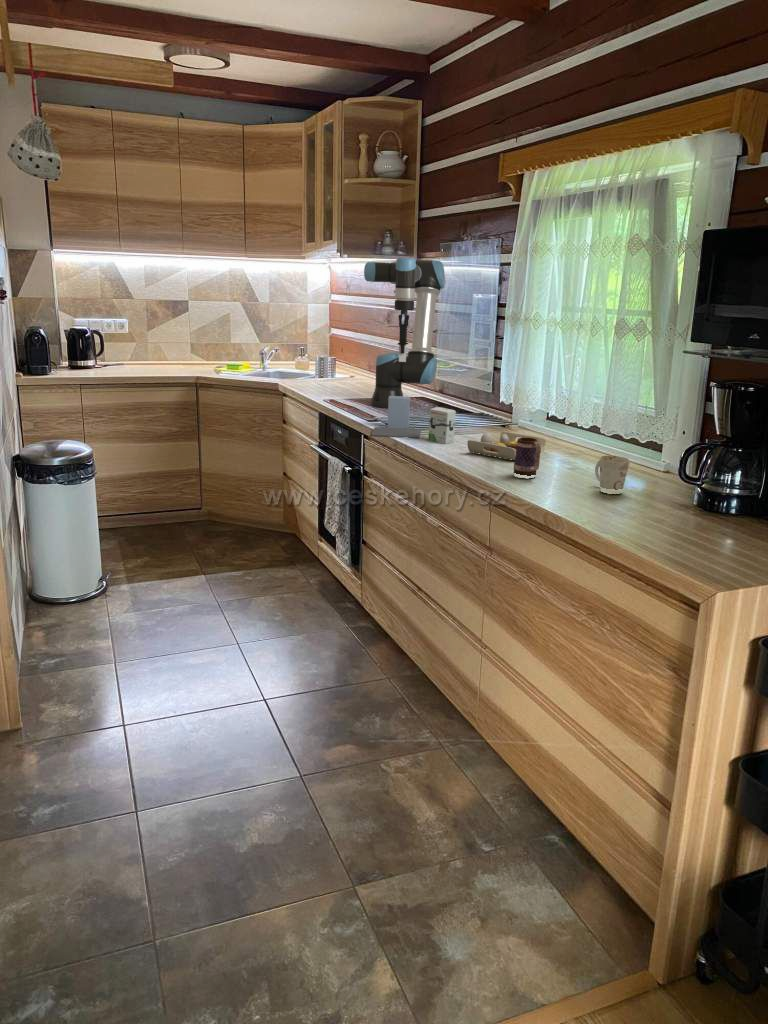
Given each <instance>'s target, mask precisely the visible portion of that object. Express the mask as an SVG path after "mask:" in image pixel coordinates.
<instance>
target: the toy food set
mask: <svg viewBox="0 0 768 1024" xmlns="http://www.w3.org/2000/svg"><path fill="white" fill-rule="evenodd" d="M516 438H534V439H537V442H539V443H540V444H541V453H543V452H544V450H545V447H546V445H547V441H548V440H547V438H545V437H540V436H535V435H530V434H525V433H517V432H512V431H505V430H503V431H500V437H499V439H498V441H495V442H493V436H492V435H491V433H489V432H484V433H483V435H481V438H480V440H479V441H478V440H471V439H469V440H467V443H466V444H467V450H468V451H469V453H471V452H474V453H473V454H475V453H480V454H485V455H484V456H486V455H490V456H489V457H491V456H496V457H501V458H506V459H512V460H515V456H516V448H517V441H518V439H517V440H516ZM480 454H479V455H480ZM496 457H495V458H496ZM501 458H500V459H501ZM506 459H505V460H506Z"/></svg>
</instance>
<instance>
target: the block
mask: <svg viewBox="0 0 768 1024" xmlns="http://www.w3.org/2000/svg"><path fill="white" fill-rule="evenodd" d="M410 407H411V396H405V395H403V396H389V400H388V408H387V428H401V429H403V428H408V427H409V428H410V411H411V409H410ZM409 428H408V429H409Z"/></svg>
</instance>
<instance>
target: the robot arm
mask: <svg viewBox="0 0 768 1024" xmlns="http://www.w3.org/2000/svg"><path fill="white" fill-rule="evenodd" d="M363 274H364V279H365V281H366V282H370V283H390V284H392V285H395V287H394V288H395V289H394V290H393V293H395V294H394V299H395V301H394V310H395V311H400V314H398V327H399V341H398V342H397V346H398V347H399V348H398V352H387V353H381V354H379V355H377V356H376V360H375V361H376V363H375V387H374V392H373V394H372V397H371V400H370V405H371V406H372V407H376V408H382V409H383V408H385V409H388V400H389V396H404V394H403V390H402V384H414V385H415V384H416V385H421V386H422V385H430V384H432V383H433V382H434V380H435V377H436V373H437V369H438V359H437V358H436V357H435V353H434V351H432V346H433V345H432V344H433V335H434V325H435V316H436V315H435V314H436V305H437V304H436V303H437V296H439V295H440V294H441V290H442V289H445V284H446V278H445V277H446V276H445V266H444V264H443V262H442V261H440V260H433V259H432V260H429V259H425V260H424V259H415V258H414V257H397V258H396V260H395V261H392V262H384V261H383V262H379V261H378V262H377V261H368V262H366V263H365V265H364V269H363ZM415 294H416V295H415ZM415 296H416V301H414V299H415ZM414 309H415V313H414V323H413V335H412V343H411V349H409V350H408V351H407V345H409V342H408V338H407V337H408V327H409V319H410V315H409V314H408V311H411V312H412V311H414Z"/></svg>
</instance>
